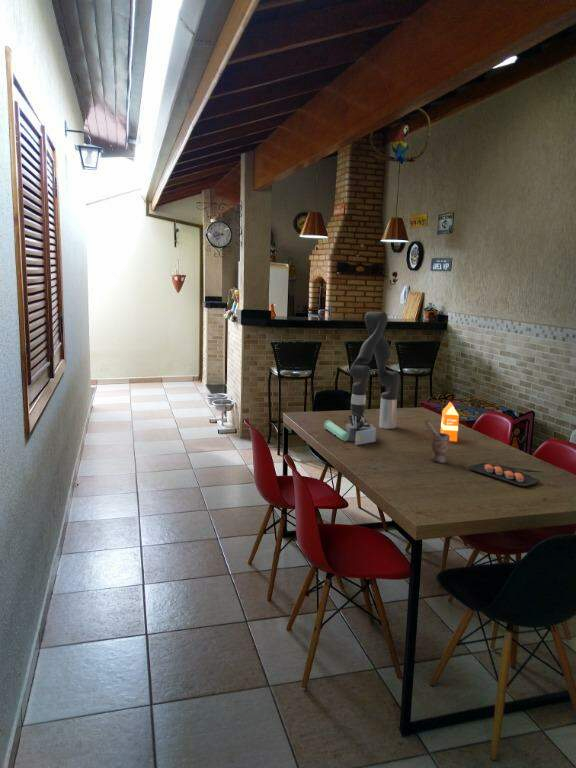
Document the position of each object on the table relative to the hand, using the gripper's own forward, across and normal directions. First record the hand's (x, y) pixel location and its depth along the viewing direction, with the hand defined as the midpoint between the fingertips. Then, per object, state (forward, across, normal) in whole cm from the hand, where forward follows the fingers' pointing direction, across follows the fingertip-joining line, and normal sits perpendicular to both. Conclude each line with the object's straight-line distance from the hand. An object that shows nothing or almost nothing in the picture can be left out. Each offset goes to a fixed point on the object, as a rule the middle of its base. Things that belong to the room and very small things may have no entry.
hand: (356, 434), depth 300 cm
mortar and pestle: (+4, -40, -19) cm, 44 cm away
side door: (+4, -3, -4) cm, 7 cm away
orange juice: (+4, -11, -54) cm, 55 cm away
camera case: (+4, +6, -7) cm, 10 cm away
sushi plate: (+5, -67, -41) cm, 79 cm away
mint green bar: (+5, +16, +2) cm, 17 cm away
